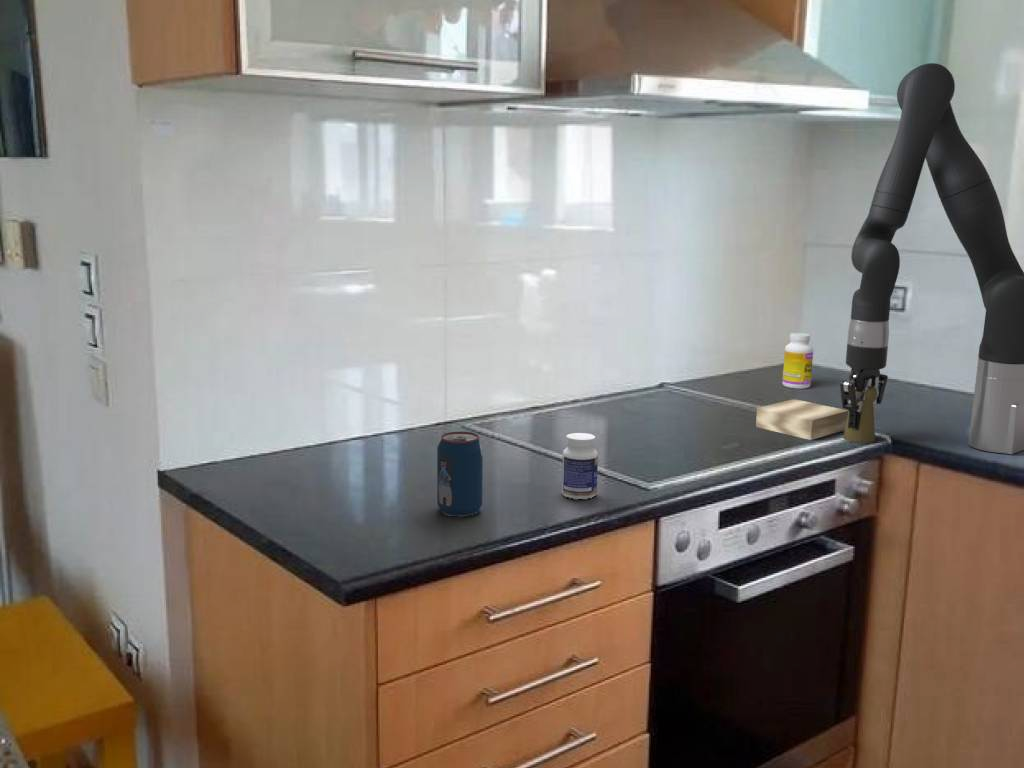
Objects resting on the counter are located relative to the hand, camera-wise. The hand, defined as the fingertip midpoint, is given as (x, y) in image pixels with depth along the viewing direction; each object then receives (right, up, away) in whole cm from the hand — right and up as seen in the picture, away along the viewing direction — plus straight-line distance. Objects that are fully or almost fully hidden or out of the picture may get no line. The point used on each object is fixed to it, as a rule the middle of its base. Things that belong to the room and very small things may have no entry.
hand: (860, 427), depth 205 cm
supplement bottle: (0, +8, +48) cm, 48 cm away
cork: (0, -2, +1) cm, 2 cm away
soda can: (-77, -11, -44) cm, 90 cm away
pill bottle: (-58, -10, -36) cm, 69 cm away
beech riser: (-9, 0, +8) cm, 12 cm away
